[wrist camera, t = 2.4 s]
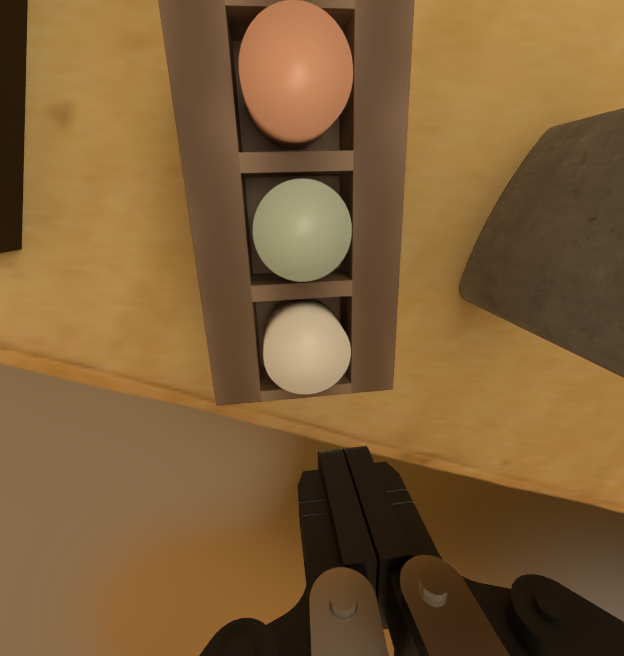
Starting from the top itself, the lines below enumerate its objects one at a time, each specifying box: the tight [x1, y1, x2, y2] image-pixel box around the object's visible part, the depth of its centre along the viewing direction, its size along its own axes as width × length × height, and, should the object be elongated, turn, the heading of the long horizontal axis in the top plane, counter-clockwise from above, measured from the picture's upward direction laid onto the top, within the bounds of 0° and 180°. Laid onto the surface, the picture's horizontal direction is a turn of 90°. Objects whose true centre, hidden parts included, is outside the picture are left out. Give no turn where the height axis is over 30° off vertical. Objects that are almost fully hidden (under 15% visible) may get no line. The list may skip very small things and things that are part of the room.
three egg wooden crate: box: [158, 0, 414, 406], centre depth 23 cm, size 11×20×11 cm, turn 2°
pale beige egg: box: [263, 298, 351, 394], centre depth 21 cm, size 5×5×4 cm
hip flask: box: [459, 108, 624, 378], centre depth 21 cm, size 16×4×20 cm, turn 156°
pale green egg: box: [253, 179, 352, 282], centre depth 18 cm, size 5×5×4 cm
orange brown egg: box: [239, 0, 353, 148], centre depth 16 cm, size 5×5×4 cm
